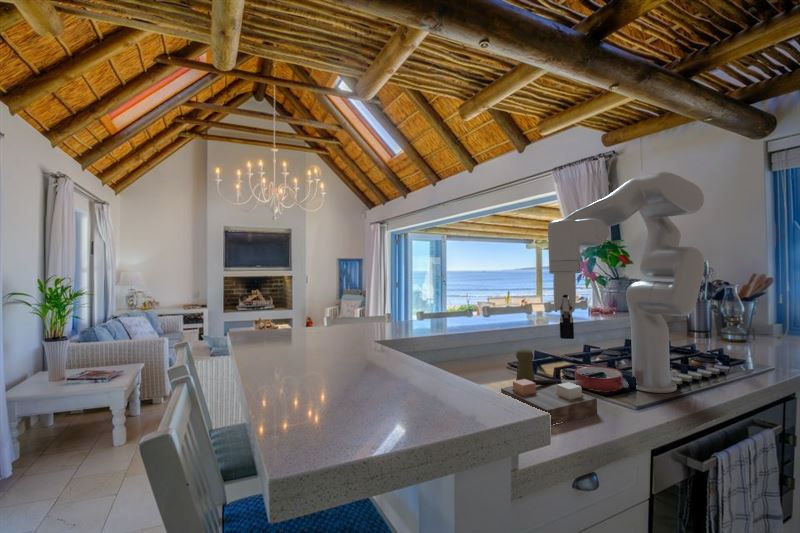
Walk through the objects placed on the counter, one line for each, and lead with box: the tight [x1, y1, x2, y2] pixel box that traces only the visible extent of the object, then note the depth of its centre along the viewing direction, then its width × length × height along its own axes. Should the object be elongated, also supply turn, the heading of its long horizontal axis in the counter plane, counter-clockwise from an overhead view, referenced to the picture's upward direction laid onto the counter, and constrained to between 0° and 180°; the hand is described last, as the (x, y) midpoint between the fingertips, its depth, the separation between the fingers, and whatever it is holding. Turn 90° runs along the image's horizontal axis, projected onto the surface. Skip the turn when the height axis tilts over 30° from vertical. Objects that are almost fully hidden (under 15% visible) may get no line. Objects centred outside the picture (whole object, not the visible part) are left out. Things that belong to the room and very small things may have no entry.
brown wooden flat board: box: [500, 383, 598, 426], centre depth 105 cm, size 16×18×4 cm
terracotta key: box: [512, 379, 536, 396], centre depth 107 cm, size 4×4×3 cm
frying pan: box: [533, 365, 624, 391], centre depth 116 cm, size 32×13×6 cm, turn 120°
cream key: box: [557, 382, 583, 400], centre depth 103 cm, size 4×4×3 cm
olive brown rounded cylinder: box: [515, 348, 536, 382], centre depth 125 cm, size 6×6×11 cm
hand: (567, 334), depth 103 cm, fingers open, 7 cm apart
